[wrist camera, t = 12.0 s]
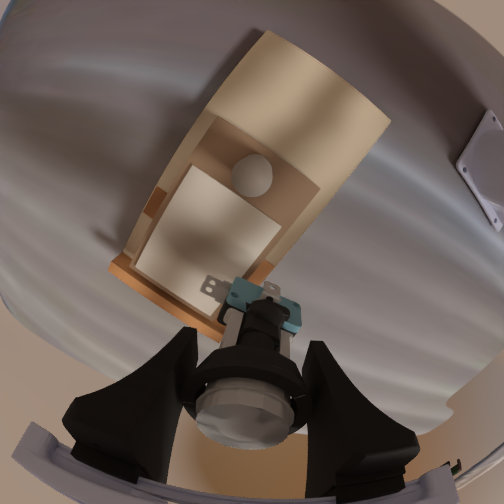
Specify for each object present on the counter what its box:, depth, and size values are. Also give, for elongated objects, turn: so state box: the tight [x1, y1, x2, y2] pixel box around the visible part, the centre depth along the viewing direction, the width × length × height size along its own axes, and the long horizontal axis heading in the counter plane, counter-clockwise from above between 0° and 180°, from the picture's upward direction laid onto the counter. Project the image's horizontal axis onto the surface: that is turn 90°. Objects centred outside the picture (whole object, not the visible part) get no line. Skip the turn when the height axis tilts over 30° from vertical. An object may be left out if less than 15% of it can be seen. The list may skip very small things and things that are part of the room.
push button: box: [181, 275, 312, 450], centre depth 13 cm, size 7×5×10 cm
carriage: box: [129, 116, 321, 322], centre depth 17 cm, size 8×13×6 cm, turn 145°
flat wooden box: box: [108, 30, 391, 343], centre depth 18 cm, size 11×22×3 cm, turn 145°
